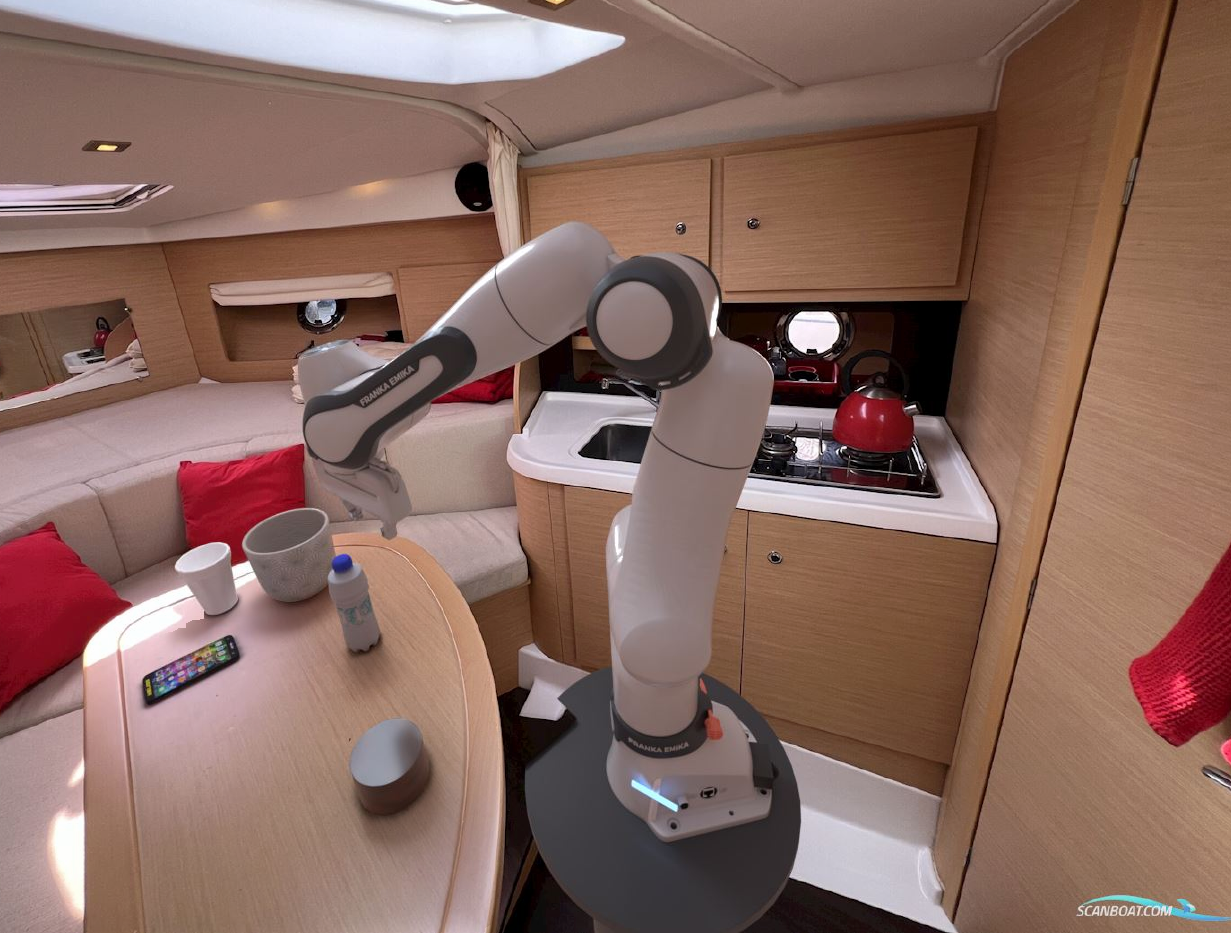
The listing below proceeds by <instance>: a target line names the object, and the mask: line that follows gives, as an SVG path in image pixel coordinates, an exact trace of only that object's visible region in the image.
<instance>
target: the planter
mask: <svg viewBox="0 0 1231 933" xmlns="http://www.w3.org/2000/svg"><path fill="white" fill-rule="evenodd" d="M330 524H331V523H330V518H329V515H328V514H327V513H326V512H325V511H323V510H322V509H319V508H313V507H301V508H294V509H290V510H289V509H288V510H286V511H282V512H279V513H276V514H275V515H272V516H270V517H268V518H266V519H264V520H262V521H260V522H258V523H257V524H256V525H255V526H253V527H251V529H250V530H248V531H247V533H246V534H245V535H244V537H243V539H242V543H241V547H242V550H243V552H244V554H245V556H246V558H247V560H248V562H249V565H250V566H251V569H252V570H253V574H254V576H255V577H256V579H257V581H258V583H259V585H260V587H261V589H262V590H263V591H264V592H265V593H266V594H267V596H269V597H271V598H272V599H273V600H277V601H280V602H284V603H293V602H300V601H303V600H306V599H309V598H311V597H313V596H315V595H317V594H319V593H320V592H321V591H322V590H324V589H325V588H326V587H327V586H328V575H329V573H330V572H331V571H332V570H333V567H332V561H333V559H334V558H335V557H336V556H337V554H336V549H335V545H334V540H333V534H332V529H331V525H330Z"/></svg>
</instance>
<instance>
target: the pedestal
mask: <svg viewBox="0 0 1231 933" xmlns="http://www.w3.org/2000/svg"><path fill="white" fill-rule="evenodd" d="M423 738H424V737H423V735H422V732H421V730H420V728H419V726H418V725H417V724H416V723H415V722H414V721H412V720H411V719H407V718H402V717H401V718H400V717H395V718H389V719H385V720H383V721H380V722H379V723H377V724H374V725H373V726H371V727H369V729H368V730H366V731H365V732H364V733H363V734H362V735H361V736H360V737H359V739H358V740H357V741H356V743H355V745H354V746H353V748H352V751H351V753H350V758H349V770H350V774H351V777H352V780H353V782H354V786H355V788H356V792H357V795H358V798H359V801H360V802H361V805H362V806H363V807H364V809H365V810H366V811H367V812H369V813H371V814H373V815H377V816H388V815H393V814H396V813H399V812H401V811H403V810H405V809H406V808H408V807H409V806H410V805H412V804H413V803H414V802H415V801H416V800H417V799H418V798H419V796H420V795H421V794H422V793H423V791H424V789H425V788H426V785H427V783H428V781H429V775H430V762H429V759H428V755H427V750H426V748H425V743H424V742H425V741H424V739H423Z"/></svg>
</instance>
